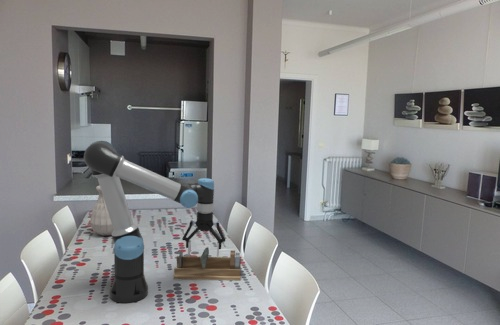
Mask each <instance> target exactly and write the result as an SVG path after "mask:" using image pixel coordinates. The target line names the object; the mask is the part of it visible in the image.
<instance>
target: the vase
mask: <svg viewBox="0 0 500 325" xmlns="http://www.w3.org/2000/svg"><path fill="white" fill-rule="evenodd" d="M95 190H96V191H97V192H98V197H97V199H96V202H95V204H94V206H93V208H92V211H91V216H90V220H89V222H90V223H89V224H90V226H91V228H92V230H93V232H94V233H96V234H98V235H99V236H112V232H113V230H114V229H113V225H112V222H111V219H110V216H109V213H108V210H107V207H106V203H105V200H104V197H103V194H102V191H101V188H100V185H97V186H96V187H95Z"/></svg>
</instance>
